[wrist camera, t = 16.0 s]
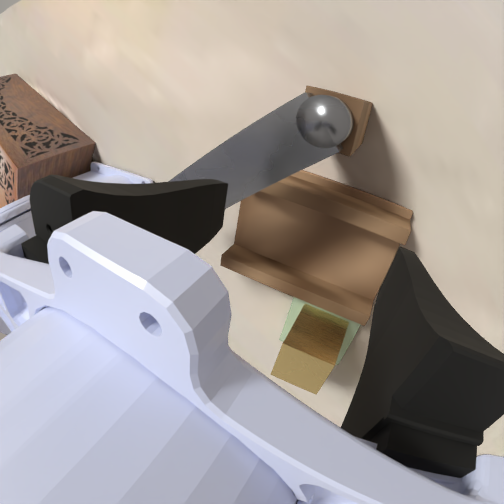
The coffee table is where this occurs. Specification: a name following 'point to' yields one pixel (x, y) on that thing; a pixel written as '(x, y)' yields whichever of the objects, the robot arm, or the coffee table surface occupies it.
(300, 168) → the lever
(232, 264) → the body
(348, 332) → the pad
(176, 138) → the coffee table surface
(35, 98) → the tissue box cover
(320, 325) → the tan cube
